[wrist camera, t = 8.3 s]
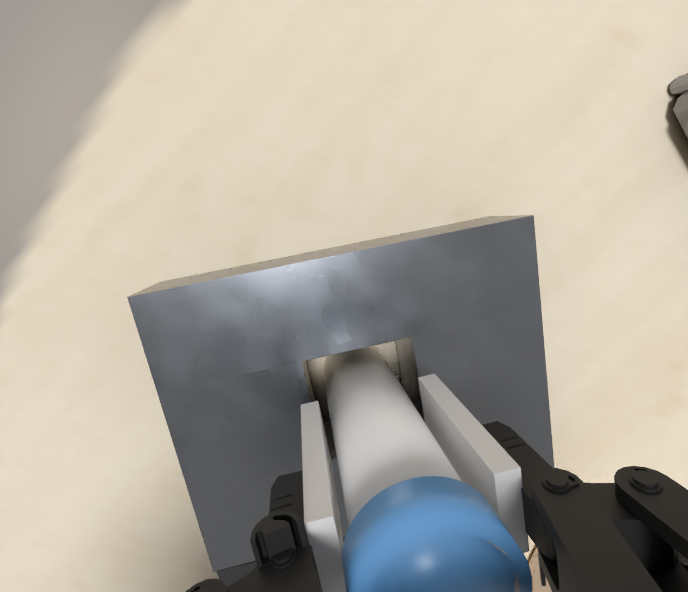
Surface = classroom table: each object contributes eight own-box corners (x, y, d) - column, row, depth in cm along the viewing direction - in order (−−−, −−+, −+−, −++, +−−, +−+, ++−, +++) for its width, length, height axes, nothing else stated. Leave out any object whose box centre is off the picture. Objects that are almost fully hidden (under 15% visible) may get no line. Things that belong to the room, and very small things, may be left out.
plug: (325, 410, 23) (367, 700, 9) (310, 342, 22) (332, 550, 8) (395, 393, 23) (539, 650, 9) (383, 326, 22) (523, 500, 8)
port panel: (227, 511, 23) (212, 577, 19) (160, 282, 20) (124, 298, 16) (513, 439, 24) (559, 485, 20) (490, 216, 21) (537, 215, 17)
